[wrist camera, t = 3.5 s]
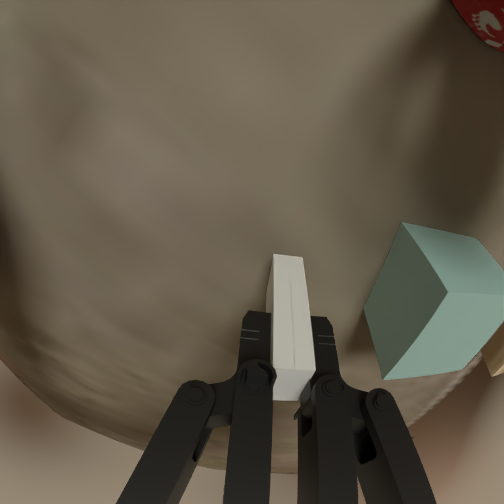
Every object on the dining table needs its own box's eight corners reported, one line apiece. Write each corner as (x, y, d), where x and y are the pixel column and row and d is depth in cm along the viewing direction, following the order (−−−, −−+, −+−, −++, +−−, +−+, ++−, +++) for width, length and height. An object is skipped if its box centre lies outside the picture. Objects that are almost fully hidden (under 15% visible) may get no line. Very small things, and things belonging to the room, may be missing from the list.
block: (362, 307, 18) (382, 379, 13) (400, 220, 14) (448, 291, 9) (435, 309, 18) (461, 369, 13) (475, 237, 14) (521, 295, 9)
